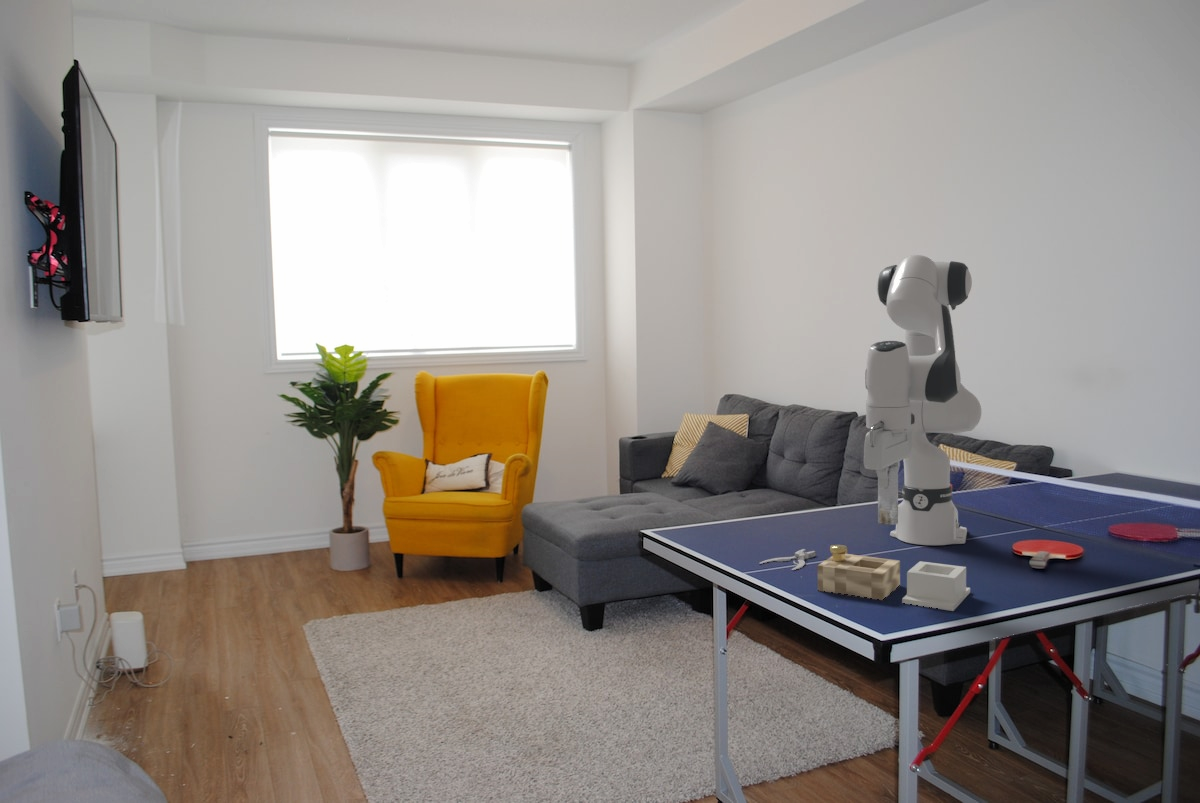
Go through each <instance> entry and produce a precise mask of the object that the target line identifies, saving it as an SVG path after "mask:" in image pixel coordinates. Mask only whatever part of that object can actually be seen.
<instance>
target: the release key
mask: <svg viewBox="0 0 1200 803" xmlns="http://www.w3.org/2000/svg"><path fill="white" fill-rule="evenodd" d="M829 552H830V553H831V554H832V556H833V561H834V562H844V561H845V554H848V546H847V545H843V544H832V545H830V547H829Z"/></svg>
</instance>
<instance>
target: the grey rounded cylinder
mask: <svg viewBox="0 0 1200 803" xmlns="http://www.w3.org/2000/svg"><path fill="white" fill-rule="evenodd" d="M887 473H888V478H889V486H888V487H886V488H884V487H879V479H878V478H877V501H878V502H877V523H878V524H880V525H885V526H886V525H887V526H892V525H895V526H896V524H898V505H899V471H898V466H895V465H890V466H888V471H887Z"/></svg>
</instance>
